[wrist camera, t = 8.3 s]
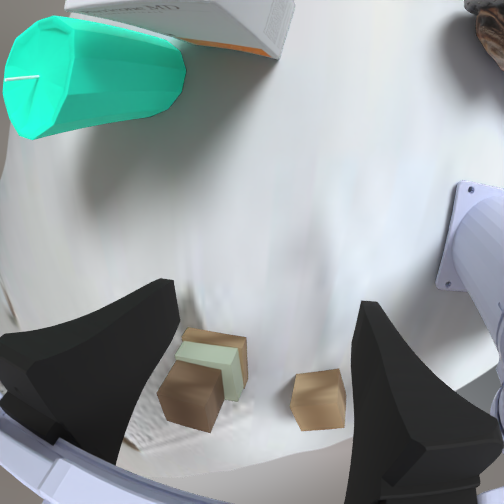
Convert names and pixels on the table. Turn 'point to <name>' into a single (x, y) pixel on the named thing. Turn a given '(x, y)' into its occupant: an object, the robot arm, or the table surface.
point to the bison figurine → (489, 26)
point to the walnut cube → (192, 395)
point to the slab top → (216, 364)
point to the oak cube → (319, 400)
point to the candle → (87, 76)
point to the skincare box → (203, 20)
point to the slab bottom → (221, 344)
